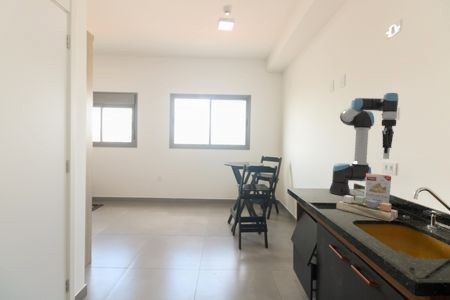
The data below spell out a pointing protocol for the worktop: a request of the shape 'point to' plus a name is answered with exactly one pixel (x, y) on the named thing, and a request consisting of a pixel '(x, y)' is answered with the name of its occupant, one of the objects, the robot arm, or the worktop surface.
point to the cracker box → (377, 188)
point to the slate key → (372, 204)
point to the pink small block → (385, 207)
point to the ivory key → (348, 199)
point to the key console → (367, 211)
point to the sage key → (360, 200)
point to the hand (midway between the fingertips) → (386, 158)
